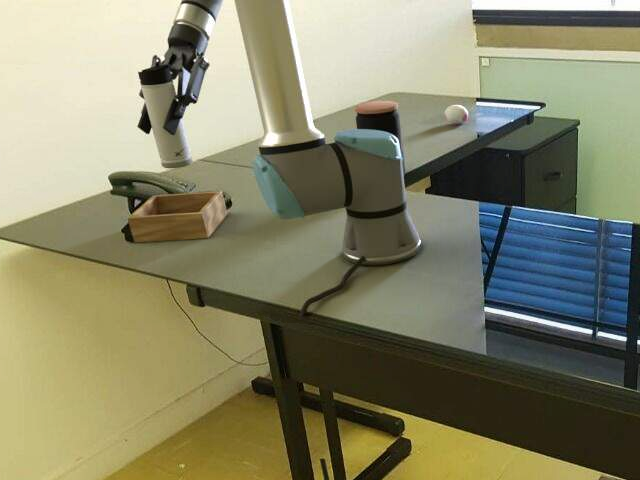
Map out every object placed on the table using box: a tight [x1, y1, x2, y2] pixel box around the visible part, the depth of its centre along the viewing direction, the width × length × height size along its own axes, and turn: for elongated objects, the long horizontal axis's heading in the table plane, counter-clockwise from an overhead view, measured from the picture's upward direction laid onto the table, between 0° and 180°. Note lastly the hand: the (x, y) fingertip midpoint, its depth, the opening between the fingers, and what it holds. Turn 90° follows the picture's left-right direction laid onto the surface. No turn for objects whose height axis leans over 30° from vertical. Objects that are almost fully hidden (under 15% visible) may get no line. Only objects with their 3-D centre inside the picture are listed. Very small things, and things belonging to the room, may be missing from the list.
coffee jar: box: [353, 100, 407, 177], centre depth 196 cm, size 11×11×18 cm
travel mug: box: [137, 64, 193, 169], centre depth 163 cm, size 6×7×20 cm
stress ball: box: [444, 104, 469, 127], centre depth 249 cm, size 8×8×7 cm
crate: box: [126, 190, 228, 243], centre depth 175 cm, size 16×16×6 cm
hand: (156, 130), depth 161 cm, fingers closed on travel mug, 6 cm apart
